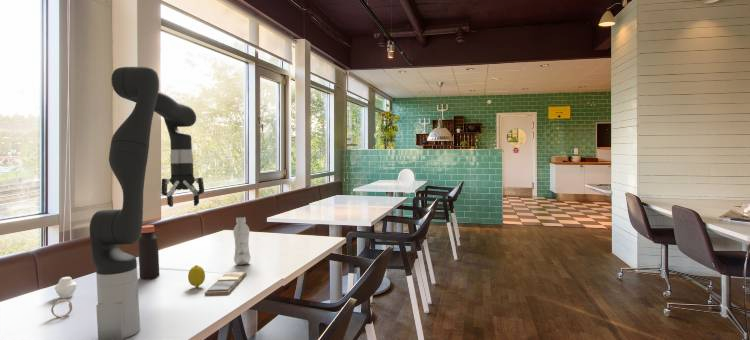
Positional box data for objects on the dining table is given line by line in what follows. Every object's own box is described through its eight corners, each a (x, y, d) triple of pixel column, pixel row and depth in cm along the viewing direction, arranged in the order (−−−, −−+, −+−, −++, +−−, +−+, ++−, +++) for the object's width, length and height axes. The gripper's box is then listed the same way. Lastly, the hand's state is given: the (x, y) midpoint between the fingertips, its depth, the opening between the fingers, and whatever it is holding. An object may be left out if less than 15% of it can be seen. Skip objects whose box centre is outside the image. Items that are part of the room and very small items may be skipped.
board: (228, 294, 140) (228, 290, 140) (204, 295, 140) (204, 291, 139) (246, 275, 162) (246, 271, 162) (225, 275, 162) (225, 271, 161)
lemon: (199, 290, 145) (198, 267, 145) (185, 289, 146) (184, 267, 146) (208, 285, 150) (207, 263, 150) (195, 284, 152) (194, 262, 151)
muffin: (51, 300, 138) (50, 280, 138) (60, 294, 144) (58, 274, 144) (73, 298, 140) (71, 278, 139) (80, 292, 146) (79, 273, 145)
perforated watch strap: (72, 315, 125) (71, 298, 125) (53, 320, 122) (52, 303, 121) (70, 313, 127) (69, 296, 127) (51, 317, 123) (49, 301, 123)
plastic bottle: (233, 263, 179) (231, 217, 178) (249, 261, 182) (247, 216, 181) (235, 267, 173) (233, 219, 172) (251, 265, 176) (250, 218, 175)
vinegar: (135, 279, 160) (132, 227, 159) (149, 274, 167) (146, 224, 166) (150, 280, 158) (147, 228, 157) (163, 274, 165) (161, 224, 164)
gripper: (157, 162, 148) (159, 208, 148) (199, 161, 150) (201, 206, 151) (164, 162, 155) (166, 205, 156) (204, 161, 157) (206, 204, 158)
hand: (183, 206), depth 153 cm, fingers open, 8 cm apart
